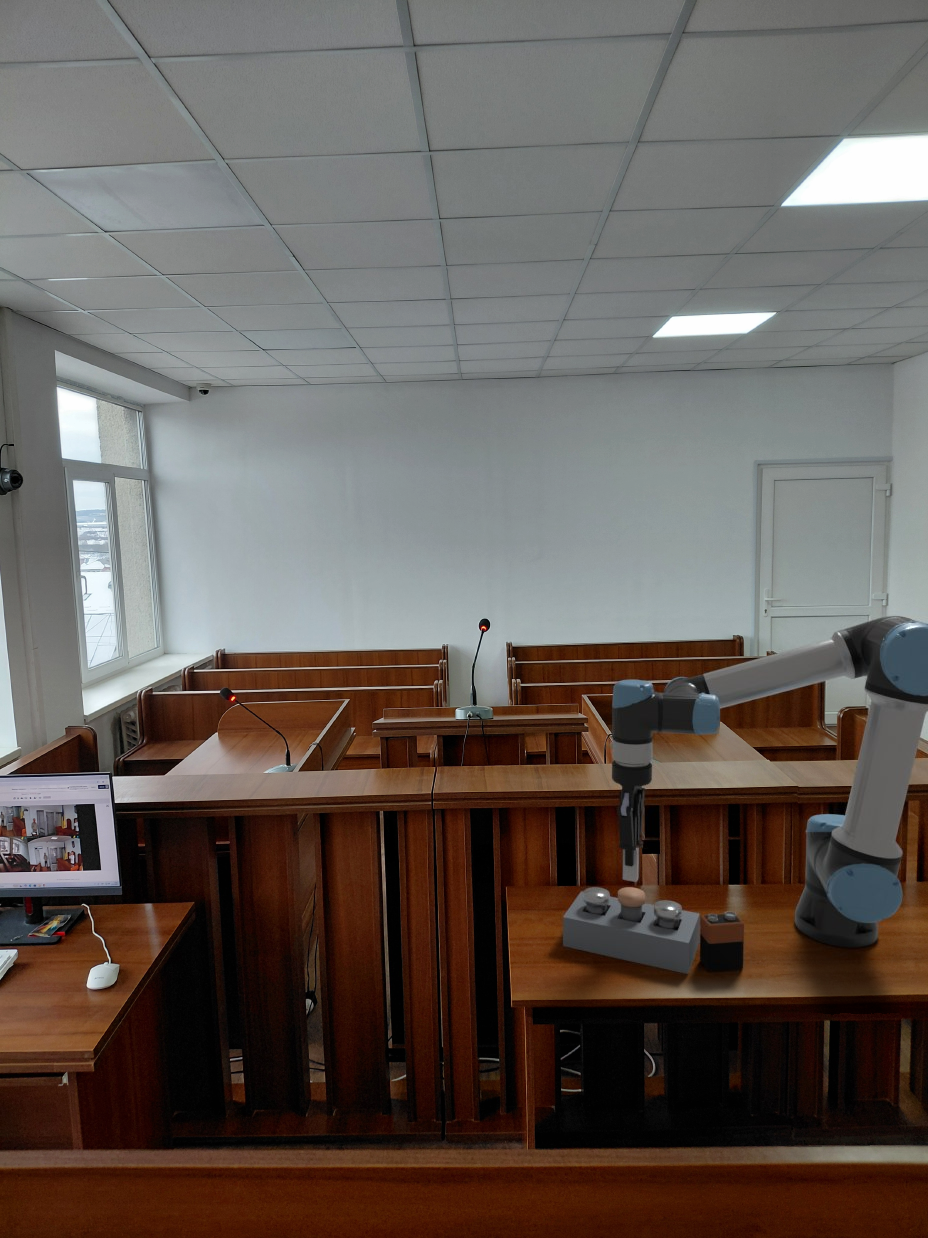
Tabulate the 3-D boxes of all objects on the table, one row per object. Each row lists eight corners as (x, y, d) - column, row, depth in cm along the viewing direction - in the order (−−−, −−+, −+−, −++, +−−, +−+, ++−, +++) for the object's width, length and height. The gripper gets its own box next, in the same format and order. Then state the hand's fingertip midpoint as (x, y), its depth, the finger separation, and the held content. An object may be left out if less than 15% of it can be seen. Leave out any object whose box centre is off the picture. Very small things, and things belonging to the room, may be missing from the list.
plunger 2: (683, 935, 150) (684, 903, 149) (678, 948, 146) (679, 915, 145) (656, 930, 152) (657, 898, 152) (650, 942, 148) (651, 910, 147)
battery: (744, 970, 143) (745, 918, 142) (708, 973, 142) (709, 921, 141) (733, 957, 147) (734, 907, 146) (698, 960, 146) (699, 910, 145)
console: (699, 942, 152) (699, 913, 152) (688, 974, 142) (688, 943, 141) (581, 918, 163) (581, 891, 162) (563, 946, 152) (562, 917, 152)
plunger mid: (647, 921, 153) (647, 890, 152) (641, 934, 148) (641, 901, 148) (621, 916, 155) (621, 885, 155) (614, 928, 151) (614, 896, 150)
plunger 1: (612, 921, 156) (612, 890, 156) (605, 933, 152) (605, 901, 151) (587, 916, 159) (587, 885, 158) (580, 927, 154) (579, 896, 153)
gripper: (621, 750, 156) (620, 863, 158) (603, 768, 144) (602, 889, 147) (658, 754, 152) (657, 869, 155) (643, 773, 141) (642, 897, 143)
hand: (630, 879), depth 151 cm, fingers closed
